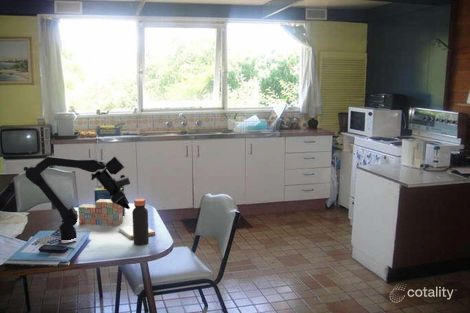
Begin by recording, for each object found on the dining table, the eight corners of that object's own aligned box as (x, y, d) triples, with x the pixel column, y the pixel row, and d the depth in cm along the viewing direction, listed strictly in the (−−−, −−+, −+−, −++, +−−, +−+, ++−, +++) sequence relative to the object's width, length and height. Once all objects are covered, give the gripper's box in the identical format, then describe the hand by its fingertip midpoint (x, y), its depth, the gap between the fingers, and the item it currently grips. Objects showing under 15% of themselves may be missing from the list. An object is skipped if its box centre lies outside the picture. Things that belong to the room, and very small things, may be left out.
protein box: (97, 213, 257) (95, 185, 255) (125, 211, 260) (124, 184, 258) (95, 218, 247) (93, 190, 245) (124, 216, 250) (123, 188, 248)
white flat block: (131, 239, 213) (131, 236, 212) (119, 230, 226) (119, 227, 226) (155, 234, 219) (155, 231, 219) (142, 226, 232) (142, 223, 232)
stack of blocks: (78, 224, 236) (77, 201, 234) (84, 221, 242) (82, 198, 240) (119, 226, 234) (118, 202, 232) (123, 222, 240) (122, 199, 238)
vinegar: (134, 246, 204) (132, 202, 201) (133, 241, 210) (131, 198, 207) (149, 244, 206) (148, 201, 203) (148, 239, 212) (146, 197, 209)
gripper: (121, 173, 203) (144, 200, 208) (120, 166, 221) (140, 191, 226) (101, 189, 202) (124, 215, 206) (101, 181, 220) (122, 205, 224)
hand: (128, 206), depth 216 cm, fingers open, 9 cm apart
